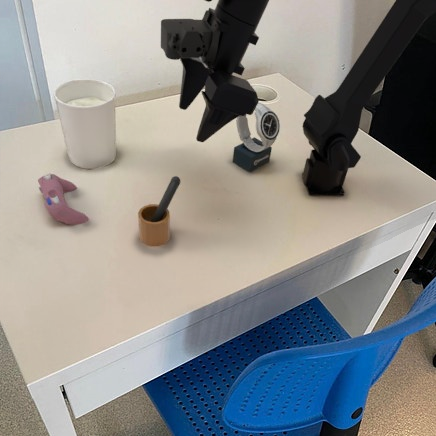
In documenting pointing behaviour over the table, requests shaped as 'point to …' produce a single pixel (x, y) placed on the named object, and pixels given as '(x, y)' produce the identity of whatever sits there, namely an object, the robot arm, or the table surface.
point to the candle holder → (88, 121)
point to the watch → (253, 148)
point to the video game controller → (59, 199)
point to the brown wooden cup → (153, 226)
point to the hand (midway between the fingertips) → (190, 124)
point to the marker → (166, 199)
